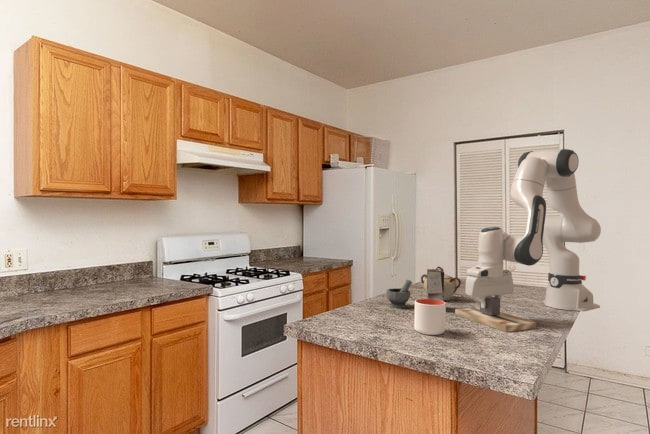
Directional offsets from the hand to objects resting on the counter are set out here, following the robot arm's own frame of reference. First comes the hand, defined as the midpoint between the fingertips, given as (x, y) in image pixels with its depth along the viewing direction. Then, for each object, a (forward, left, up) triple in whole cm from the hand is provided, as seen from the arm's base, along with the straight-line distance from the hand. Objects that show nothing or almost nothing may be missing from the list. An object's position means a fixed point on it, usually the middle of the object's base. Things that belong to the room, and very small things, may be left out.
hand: (489, 307), depth 150 cm
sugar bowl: (-6, -37, -5) cm, 38 cm away
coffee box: (+9, -21, -5) cm, 23 cm away
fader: (0, 0, -2) cm, 2 cm away
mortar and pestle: (+21, -29, -5) cm, 36 cm away
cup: (+31, +5, -5) cm, 32 cm away
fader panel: (0, +2, -5) cm, 5 cm away
